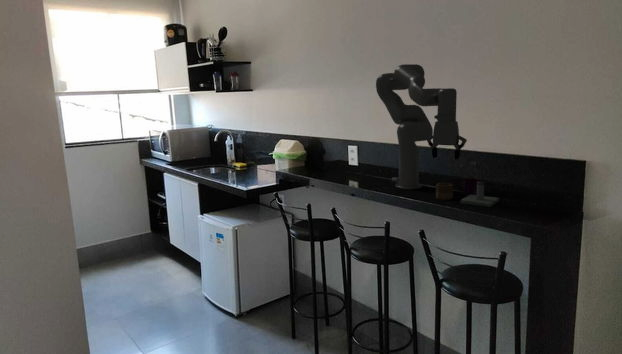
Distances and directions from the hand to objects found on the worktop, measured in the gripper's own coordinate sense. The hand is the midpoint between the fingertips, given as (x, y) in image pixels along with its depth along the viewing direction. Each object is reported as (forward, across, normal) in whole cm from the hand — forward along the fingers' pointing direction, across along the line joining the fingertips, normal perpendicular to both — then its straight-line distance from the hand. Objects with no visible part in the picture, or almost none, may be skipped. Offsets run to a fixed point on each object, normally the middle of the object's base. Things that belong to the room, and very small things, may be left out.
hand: (445, 158), depth 189 cm
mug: (+18, +6, +12) cm, 22 cm away
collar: (+18, 0, 0) cm, 18 cm away
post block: (+18, +15, +1) cm, 23 cm away
